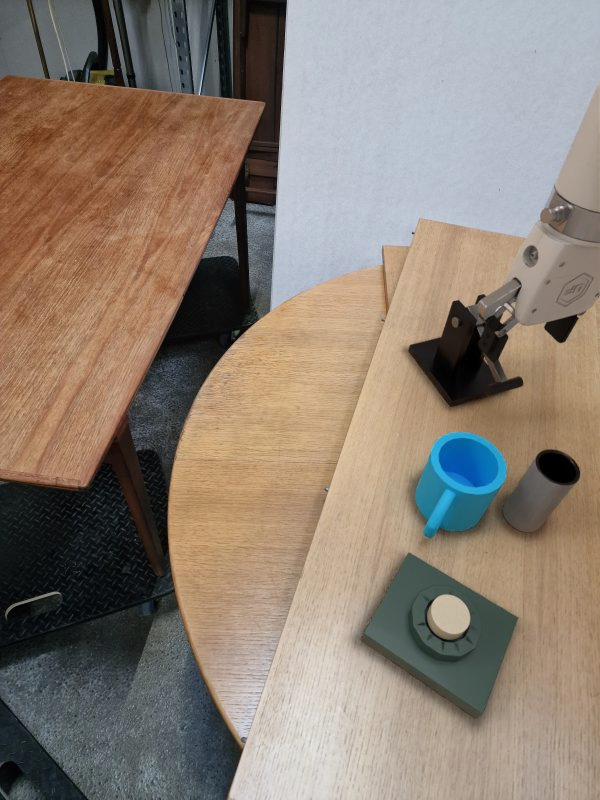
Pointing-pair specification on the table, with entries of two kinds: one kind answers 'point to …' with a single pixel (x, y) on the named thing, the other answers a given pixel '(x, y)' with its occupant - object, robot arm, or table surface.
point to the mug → (459, 482)
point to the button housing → (432, 655)
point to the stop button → (448, 617)
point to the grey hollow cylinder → (541, 490)
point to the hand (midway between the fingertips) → (521, 344)
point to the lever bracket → (455, 358)
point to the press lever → (494, 363)
